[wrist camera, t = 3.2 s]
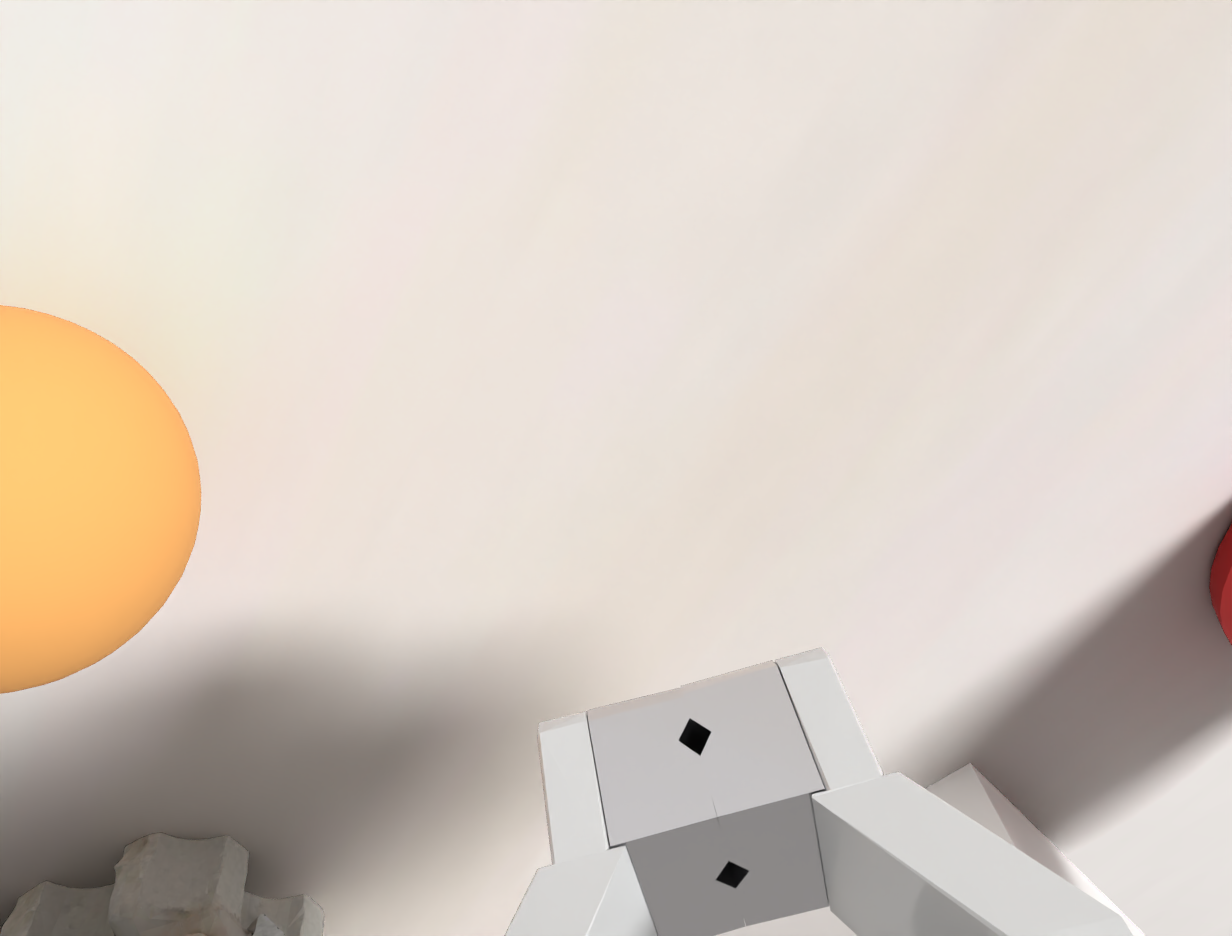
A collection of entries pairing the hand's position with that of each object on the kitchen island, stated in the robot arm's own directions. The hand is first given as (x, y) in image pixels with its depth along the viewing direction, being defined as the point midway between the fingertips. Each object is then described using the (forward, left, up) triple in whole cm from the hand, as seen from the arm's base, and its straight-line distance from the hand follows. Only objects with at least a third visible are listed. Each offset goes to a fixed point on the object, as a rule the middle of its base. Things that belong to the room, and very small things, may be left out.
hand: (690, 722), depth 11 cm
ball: (-1, -10, -7) cm, 12 cm away
